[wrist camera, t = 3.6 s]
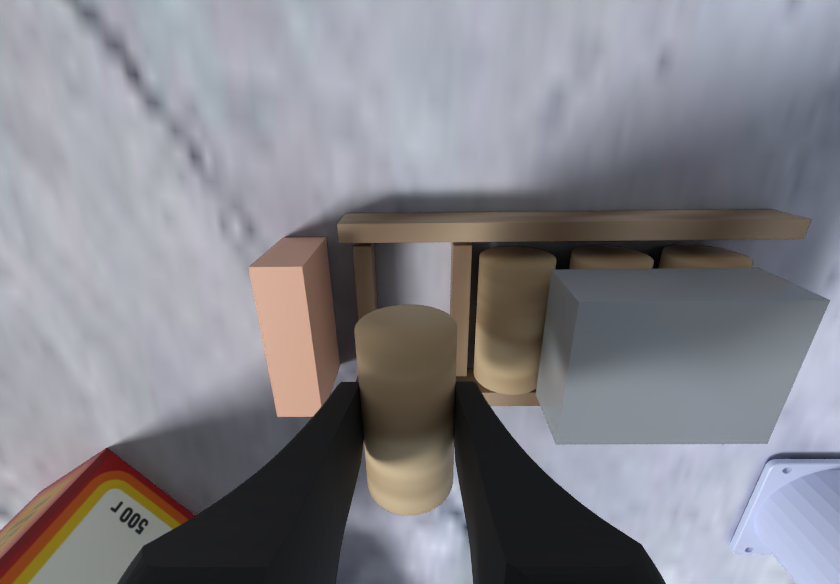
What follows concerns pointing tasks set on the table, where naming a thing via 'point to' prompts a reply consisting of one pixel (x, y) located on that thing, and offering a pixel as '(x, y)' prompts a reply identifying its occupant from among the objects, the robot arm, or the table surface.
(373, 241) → the roller track
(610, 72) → the table surface
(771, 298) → the slab
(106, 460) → the baking soda box
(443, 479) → the roller
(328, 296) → the block
